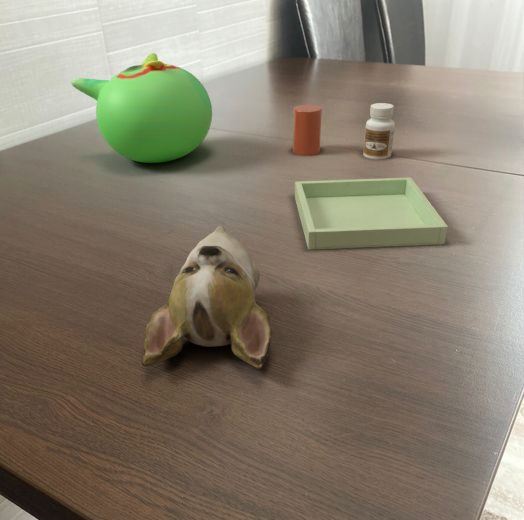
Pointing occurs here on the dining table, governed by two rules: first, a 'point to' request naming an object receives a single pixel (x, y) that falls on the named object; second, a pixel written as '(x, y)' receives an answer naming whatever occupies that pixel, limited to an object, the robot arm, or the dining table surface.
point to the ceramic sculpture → (212, 305)
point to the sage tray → (367, 214)
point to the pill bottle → (379, 132)
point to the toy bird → (151, 111)
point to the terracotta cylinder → (306, 129)
